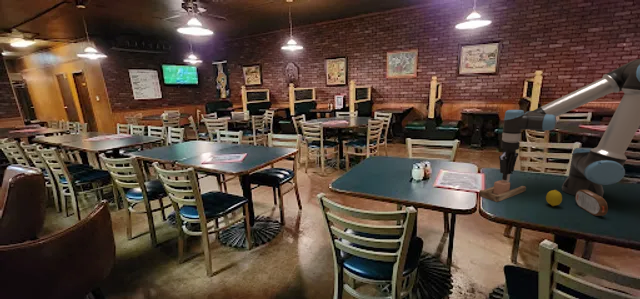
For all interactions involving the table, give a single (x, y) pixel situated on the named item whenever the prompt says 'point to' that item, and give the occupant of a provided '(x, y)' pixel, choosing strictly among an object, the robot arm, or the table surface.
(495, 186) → the block
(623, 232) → the table surface
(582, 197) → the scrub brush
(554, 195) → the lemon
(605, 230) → the table surface
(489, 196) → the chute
